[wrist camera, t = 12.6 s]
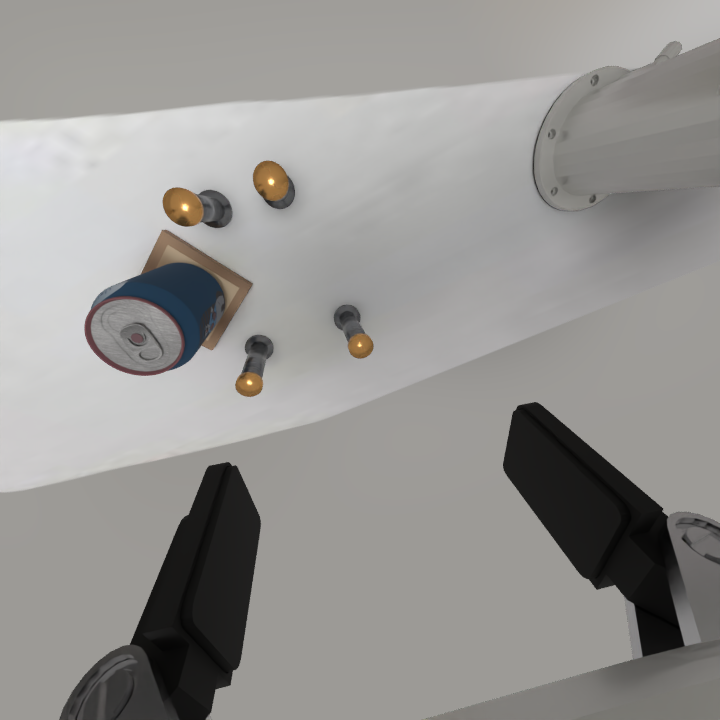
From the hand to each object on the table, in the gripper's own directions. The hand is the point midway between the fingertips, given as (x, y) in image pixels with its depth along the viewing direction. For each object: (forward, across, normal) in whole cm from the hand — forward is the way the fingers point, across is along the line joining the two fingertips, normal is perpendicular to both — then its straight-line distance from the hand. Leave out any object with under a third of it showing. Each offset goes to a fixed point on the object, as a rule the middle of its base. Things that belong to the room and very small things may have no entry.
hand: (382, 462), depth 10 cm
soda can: (+25, +14, -1) cm, 29 cm away
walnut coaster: (+26, +15, -1) cm, 30 cm away
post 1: (+27, +10, -9) cm, 30 cm away
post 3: (+27, +4, -10) cm, 29 cm away
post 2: (+26, +10, +6) cm, 29 cm away
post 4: (+27, -1, +4) cm, 27 cm away
